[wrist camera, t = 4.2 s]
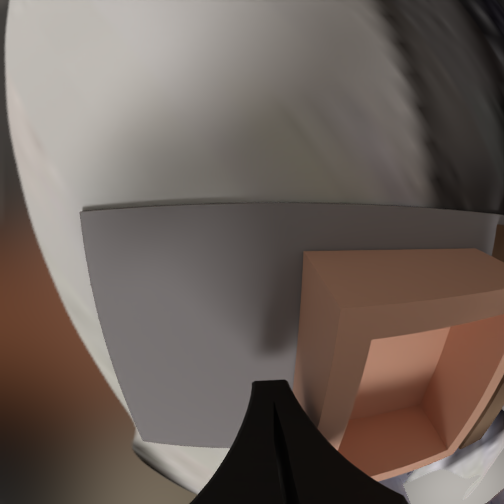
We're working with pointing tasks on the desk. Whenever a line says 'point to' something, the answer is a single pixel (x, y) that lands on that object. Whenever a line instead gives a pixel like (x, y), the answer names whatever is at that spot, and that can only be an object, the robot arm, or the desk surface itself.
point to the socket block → (398, 351)
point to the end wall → (500, 397)
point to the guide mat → (228, 296)
